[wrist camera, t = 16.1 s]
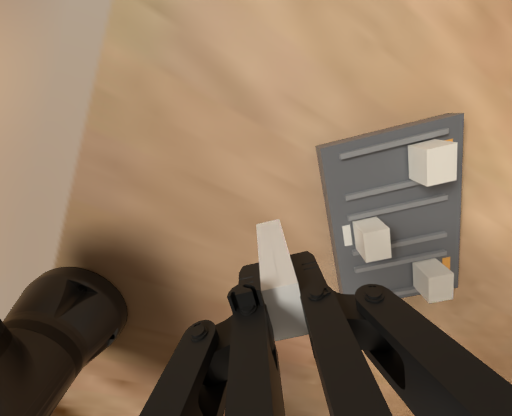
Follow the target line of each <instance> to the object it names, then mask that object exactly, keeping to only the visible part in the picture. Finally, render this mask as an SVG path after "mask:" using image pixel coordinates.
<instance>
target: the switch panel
mask: <svg viewBox="0 0 512 416" xmlns="http://www.w3.org/2000/svg"><path fill="white" fill-rule="evenodd" d="M463 127H464V113H447V114H443V115H439V116H435V117H431V118H427V119H423V120H419V121H415V122H411V123H407V124H403V125H398V126H394V127H390V128H386V129H382V130H378V131H374V132H370V133H366V134H362V135H358V136H354V137H350V138H346V139H342V140H338V141H334V142H330V143H326V144H322V145H318V146H316V151H317V157H318V163H319V169H320V176H321V182H322V188H323V194H324V200H325V206H326V212H327V218H328V224H329V231H330V237H331V243H332V249H333V255H334V261H335V267H336V273H337V279H338V286H339V292H340V293H341V294H355V292H356V290H357V289H358V288H359V287H361V286H362V285H366V284H378V285H382V286H384V287H386V288H388V289H389V290H391V291H392V292H393V293H394V294H396V295H397V296H398V297H400V298H404V297H409V296H415V295H420V293H419V292H418V291H417V290H416V289H415V287H414V286H413V265H412V262H417V261H422V260H427V259H432V258H436V259H437V260H438V261H440V262H441V263H442V264H443V265H445V266H446V267H447V268H448V269H449V270H451V271H452V272H453V273H454V288H458V272H459V243H460V214H461V185H462V156H463ZM433 139H438V140H445V141H451V142H458V144H457V180H455V181H450V182H446V183H441V184H437V185H433V186H428V187H427V186H425V185H422V184H420V183H418V182H415V181H413V180H411V179H409V164H408V145H412V144H416V143H420V142H425V141H429V140H433ZM371 217H377V218H379V219H380V220H381V221H382V222H383V223H384V224H385V225H387V226H388V227H389V228H390V242H391V256H392V258H388V259H383V260H378V261H373V262H368V263H366V262H365V260H364V259H363V258H362V256H361V255H360V254H359V252H358V251H357V249H356V246H355V238H354V230H353V221H357V220H362V219H366V218H371Z"/></svg>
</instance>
